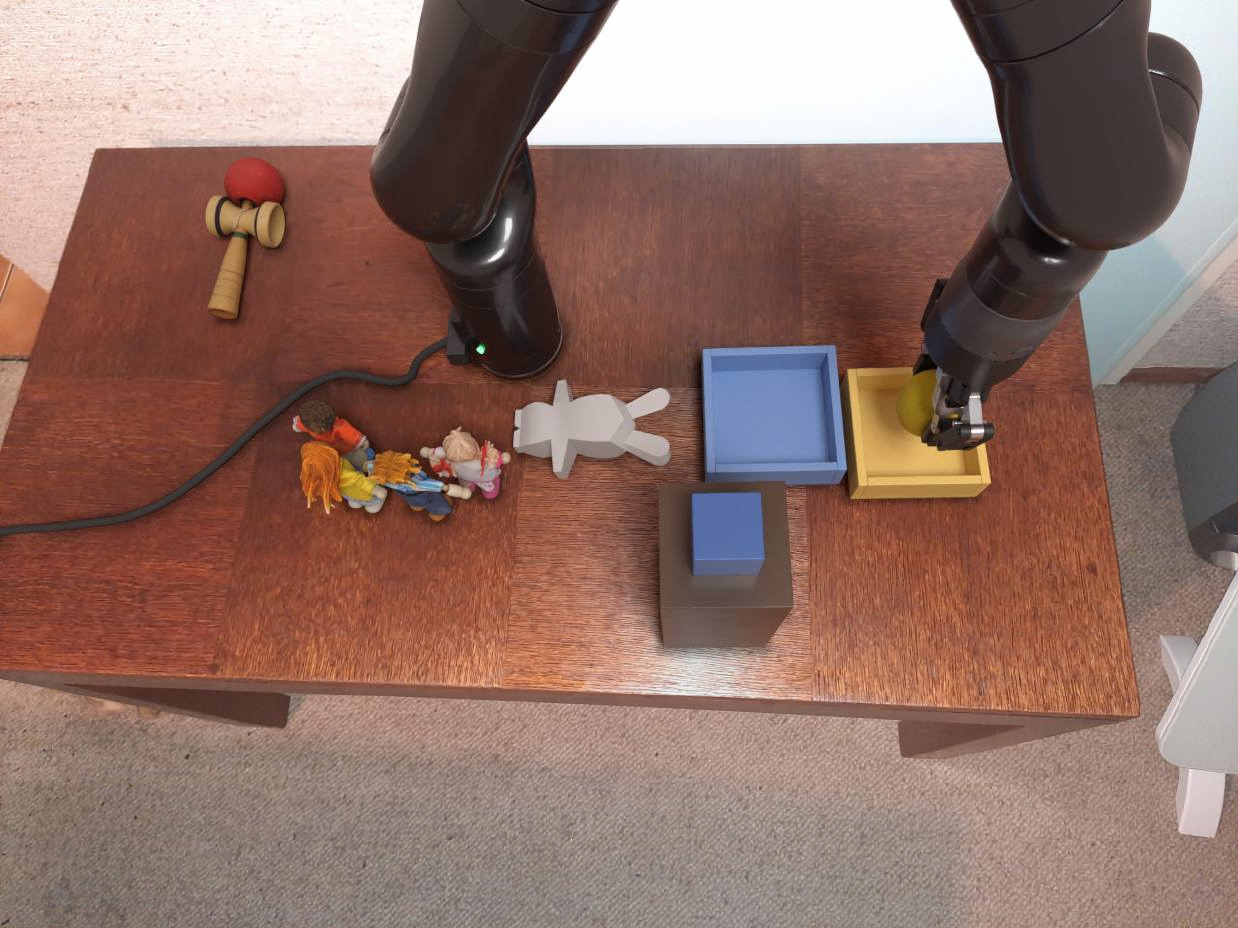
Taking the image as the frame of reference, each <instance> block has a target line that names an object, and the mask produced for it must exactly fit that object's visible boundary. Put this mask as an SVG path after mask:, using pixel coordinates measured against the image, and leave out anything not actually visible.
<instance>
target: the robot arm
mask: <svg viewBox="0 0 1238 928" xmlns="http://www.w3.org/2000/svg"><path fill="white" fill-rule="evenodd" d="M619 2H620V0H423V2H422V6H421V12H420V17H419V21H418V28H417V33H416V38H415V44H414V50H413V57H412V62H411V63H412V64H411V69H410V74H409V75H408V76H407V77H406V79H405V81H404V83H403V85H402V86H401V89H400V90H399V93H398V95H397V98H396V100H395V102H394V104H393V106H392V108H391V111H390V113H389V114H388V118H387V120H386V122H385V125H384V127H383V129H382V132H381V134H380V136H379V139H378V141H377V143H376V145H375V148H374V150H373V152H372V155H371V161H370V165H369V183H370V187H371V191H372V194H373V196H374V198H375V200H376V202H377V204H378V207H379V208H380V210H381V211H382V212H383V214H384V215H385V217H387V219H388V220H389V221H390V222H391V223H392V224H393V225H394V226H395V227H396V228H398V229H399V230H400V231H401V232H403V233H405V234H406V235H408V236H410V237H412V238H414V239H415V240H419V241H421V242H423V243H424V248H425V250H426V253H427V256H428V258H429V259H430V261H431V264H432V266H433V269H434V270H435V272H436V274H437V276H438V279H439V280H440V282H441V285H442V286H443V288H444V290H445V292H446V294H447V296H448V298H449V301H450V303H451V304H450V312H449V313H448V319H447V320H448V321H447V333H446V336H445V337H443V338H441V339H439V340H437V341H435V342H434V343H432V344H430V345H429V346H427V347H425V348H424V349H423V350H421V351H420V352H419V353H418V354H417V355H416V356H415V357H414V358H413V360H412V361H411V365H410V367H409V369H408V372H407V373H406V374H404V375H401V376H397V377H386V376H380V375H375V374H372V373H368V372H363V371H358V370H352V369H351V370H349V369H342V370H340V369H339V370H335V371H330V372H327V373H324V374H321V375H319V376H317V377H314V378H312V379H310V380H308V381H306V382H305V383H304V384H303V385H301V386H299V387H298V388H296V389H295V390H293V392H291V393H290V394H289V395H288V396H287V397H285V398H284V399H283V400H281V401H280V402H279V403H278V404H277V405H275V406H274V407H273V408H272V409H270V410H269V411H268V412H266V413H265V414H264V415H263V416H261V417H260V418H259V419H258V420H257V421H255V423H253V424H252V425H251V426H249V428H247V430H245V431H244V433H242V434H241V435H240V436H239V437H238V438H237V439H236V440H235V441H234V442H233V443H232V444H231V445H230V446H229V447H228V448H226V449H225V450H224V451H223V452H222V453H221V454H220V455H219V456H218V457H217V458H215V459H214V460H213V461H212V462H211V463H209V464H208V465H207V466H205V467H204V468H203V469H201V470H200V471H198V473H196V474H195V475H194V476H192V477H190V478H189V479H188V480H186V481H185V482H184V483H183V484H181V485H179V486H178V487H176V488H175V489H174V490H172V491H170V492H169V493H168V494H166V495H164V496H163V497H161V498H159V499H157V500H155V501H153V502H151V503H149V504H147V505H145V506H142V507H140V508H137V509H134V510H132V511H131V510H130V511H128V512H125V513H121V514H117V515H111V516H110V515H109V516H103V517H95V518H86V519H77V520H71V521H64V522H54V523H53V522H52V523H37V524H35V523H34V524H18V525H7V526H4V527H0V538H2V537H4V536H10V535H19V534H36V533H55V532H64V531H72V530H79V529H87V528H96V527H105V526H114V525H118V524H122V523H126V522H131V521H134V520H137V519H140V518H142V517H145V516H148V515H150V514H152V513H155V512H157V511H159V510H160V509H162V508H164V507H166V506H168V505H170V504H172V503H173V502H175V501H176V500H178V499H180V498H181V497H182V496H184V495H185V494H187V493H188V492H189V491H191V490H192V489H194V488H195V487H196V486H197V485H199V484H201V482H203V481H204V480H205V479H207V478H208V477H210V475H212V474H214V473H215V472H216V471H217V470H219V469H220V468H221V467H222V466H223V465H225V464H226V463H227V462H228V461H229V460H230V459H232V458H233V456H235V455H236V454H237V453H238V452H239V451H240V450H241V449H242V448H243V447H244V446H245V445H246V444H247V443H248V442H249V441H250V440H251V439H253V437H254V436H255V435H256V434H257V433H259V432H260V431H261V430H262V429H264V427H266V426H267V425H268V424H269V423H271V422H272V421H273V420H274V419H276V418H277V417H279V415H281V414H282V413H283V412H284V411H286V410H287V409H288V408H289V407H291V406H292V405H293V404H295V402H297V401H298V400H299V399H300V398H301V397H303V396H304V395H305V394H307V393H309V392H310V391H312V390H313V389H315V388H318V387H319V386H321V385H323V384H326V383H328V382H331V381H336V380H341V379H352V380H359V381H365V382H368V383H372V384H375V385H380V386H388V387H399V386H404V385H406V384H409V383H411V382H412V381H414V380H415V378H416V377H417V375H418V373H419V369H420V367H421V364H423V362H424V361H425V360H426V359H428V358H429V357H431V356H432V355H434V354H435V353H437V352H439V351H440V350H442V349H444V348H445V355H446V356H445V357H446V358H447V360H448V361H449V363H450V365H451V366H459V365H460V366H461V365H463V366H464V365H470V363H471V366H472V367H473V368H483V369H484V370H485V371H487V372H488V373H490V374H491V375H493V376H495V377H497V378H500V379H503V380H509V381H522V380H527V379H530V378H534V377H536V376H538V375H540V374H542V373H543V372H545V371H546V370H548V369H549V368H550V367H551V366H552V365H553V364H554V362H555V361H557V358H558V357H559V355H560V353H561V351H562V348H563V346H564V345H563V343H564V329H563V324H562V321H561V318H560V316H559V315H560V314H559V308H558V301H557V299H555V298H557V294H556V293H557V292H553V291H556V290H555V289H556V288H554V289H553V290H552V285H551V281H550V279H549V274H548V271H547V270H548V269H547V266H546V262H545V258H544V255H543V251H542V247H541V243H540V239H539V236H538V231H537V228H536V221H537V220H536V218H537V211H538V192H537V186H536V179H535V174H534V168H533V163H532V157H531V151H530V147H529V141H528V137H529V135H530V134H531V133H532V132H533V130H534V129H535V127H536V126H537V125H538V123H539V122H540V121H541V119H542V118H543V117H544V115H545V114H546V112H547V111H548V110H549V109H550V107H551V106H552V105H553V103H554V102H555V100H556V99H557V97H558V96H559V94H560V93H561V92H562V90H563V88H564V87H565V85H566V84H567V83H568V81H569V80H570V79H571V77H572V75H573V74H574V72H575V71H576V69H577V68H578V66H579V65H580V64H581V62H582V60H583V59H584V57H585V56H586V54H587V52H588V51H589V50H590V49H591V47H592V46H593V44H594V42H595V41H596V40H597V38H598V36H599V35H600V34H601V32H602V31H603V29H604V27H605V26H606V24H607V22H608V21H609V20H610V17H611V16H612V14H613V12H614V11H615V9H616V8H617V5H618V4H619ZM949 2H950V4H951V6H952V7H953V10H954V12H955V14H956V16H957V18H958V20H959V23H960V24H961V26H962V28H963V30H964V32H965V34H966V36H967V38H968V40H969V42H970V44H971V46H972V48H973V50H974V53H975V54H976V56H977V57H978V59H979V61H980V62H981V64H982V66H983V68H984V69H985V71H986V73H987V76H988V80H989V83H990V87H991V92H992V97H993V104H994V109H995V115H996V121H997V125H998V126H997V127H998V129H999V134H1000V138H1001V143H1002V147H1003V150H1004V154H1005V159H1006V163H1007V167H1008V171H1009V174H1010V179H1009V181H1008V184H1007V186H1006V188H1005V190H1004V191H1003V194H1002V196H1001V198H1000V199H999V201H998V203H997V205H996V206H995V208H994V209H993V211H992V212H991V213H990V215H989V216H988V217H987V219H986V221H985V222H984V224H983V226H982V228H981V230H980V231H979V233H978V235H977V236H976V238H975V240H974V242H973V244H972V246H971V247H970V249H968V252H966V253H965V255H964V256H963V257H962V258H961V259H960V261H959V262H958V263H957V265H956V266H955V268H954V270H953V272H952V273H951V275H950V277H937V278H936V280H935V283H934V285H933V289H932V291H931V292H930V293H931V294H930V296H929V299H928V301H927V304H926V307H925V309H924V311H923V315H922V317H921V320H920V323H919V327H920V330H921V332H923V338H924V339H922V341H921V344H920V351H921V352H920V354H919V356H918V357H917V360H916V361H915V364H914V366H912V367H913V369H912V371H913V376H914V375H916V374H918V373H920V372H922V371H925V370H930V369H937V371H936V379H937V383H936V386H935V390H934V394H933V397H932V401H931V402H932V405H933V408H934V411H935V412H934V416H933V419H932V420H931V421H930V422H929V423H928V425H927V426H926V427H925V429H924V430H923V432H922V433H921V434H920V435H921V442H922V443H925V444H927V447H934V446H936V447H937V450H938V451H946V450H963V451H970V450H972V449H974V448H976V447H977V446H979V445H981V444H983V443H985V444H986V443H987V442H989V441H991V440H992V439H994V436H995V433H996V429H995V426H994V424H993V422H987V420H986V419H983V410H982V407H983V406H982V405H984V404H985V403H986V402H987V401H988V399H989V397H990V395H991V394H990V393H991V391H992V389H993V388H994V386H997V385H998V384H1000V383H1002V382H1003V381H1006V380H1007V379H1009V378H1011V377H1012V376H1013V375H1015V374H1016V373H1017V372H1019V370H1020V369H1021V368H1022V367H1023V366H1024V365H1025V364H1026V363H1027V361H1028V360H1030V358H1031V357H1032V356H1033V355H1034V353H1035V352H1036V351H1037V350H1038V349H1039V347H1041V345H1042V344H1043V343H1044V342H1045V341H1046V339H1047V338H1048V337H1049V336H1050V334H1052V332H1053V331H1054V330H1055V328H1057V326H1058V325H1059V324H1060V322H1061V321H1062V319H1064V316H1065V315H1066V313H1067V311H1068V310H1069V307H1070V305H1071V304H1072V302H1074V300H1075V299H1076V298H1077V297H1078V295H1079V294H1080V293H1081V292H1082V291H1083V290H1084V289H1085V287H1086V286H1087V285H1088V284H1089V283H1090V281H1091V280H1092V279H1093V278H1094V277H1095V275H1096V274H1097V273H1098V271H1099V270H1100V269H1101V267H1102V265H1103V264H1104V262H1105V261H1106V258H1107V256H1108V254H1109V253H1110V251H1115V250H1120V249H1124V248H1125V249H1126V248H1128V247H1130V246H1133V245H1135V244H1138V243H1139V242H1142V241H1143V240H1145V239H1147V238H1148V237H1150V236H1151V235H1153V234H1154V233H1155V232H1156V231H1158V230H1159V229H1160V228H1161V227H1162V226H1163V225H1164V224H1166V222H1167V221H1168V220H1169V219H1170V217H1171V216H1172V214H1173V213H1174V212H1175V210H1176V208H1177V207H1178V205H1179V203H1180V201H1181V198H1182V196H1183V194H1184V191H1185V188H1186V184H1187V181H1188V176H1189V175H1188V174H1189V169H1190V164H1191V159H1192V155H1193V150H1194V149H1193V148H1194V143H1195V138H1196V133H1197V128H1198V123H1199V119H1200V113H1201V108H1202V102H1203V93H1204V91H1203V79H1202V73H1201V69H1200V68H1199V65H1198V62H1197V60H1196V59H1195V57H1194V55H1193V54H1192V52H1191V51H1190V50H1189V49H1188V48H1187V47H1186V46H1185V45H1184V44H1182V43H1181V42H1180V41H1178V40H1177V39H1174V38H1173V37H1170V36H1168V35H1166V34H1162V33H1159V32H1154V31H1149V29H1150V22H1151V14H1152V0H949ZM554 296H555V298H554ZM946 396H948V397H949V398H945V397H946ZM953 414H958V417H952V418H945V417H946V416H947V415H953Z"/></svg>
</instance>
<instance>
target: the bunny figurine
mask: <svg viewBox="0 0 1238 928" xmlns="http://www.w3.org/2000/svg"><path fill="white" fill-rule="evenodd" d="M671 398H672V395H671V393H670V391H669V390H668V389H665V388H663V387H658V388H654V389H652V390H651V391H649V392H646V393H645V394H643V395H642V396H639V397H638V398H636V399H634V400H632V401H630V402H629V403H626V402H624V401H622V400H621V399H619V398H617V397H616V396H614V395H613V394H608V393H607V394H606V393H605V394H604V393H597V394H589V395H585V396H580V397H578V398H575V399H574V395H573V393H572V389H571V387H570V385H569V383H568V381H567V379H561V380H557V383H556V386H555V392H554V396H553V402H552V405H551V404H548V403H546V402H543V401H534V402H532V403H528V404H526V405H525V406H524V407H523V408H522V409H515V413H514V414H515V415H514V426H515V428H516V430H514V432H513V444H512V445H513V446H512V447H513V449H514V450H515V452H517V454H519V453H520V454H521V453H524V454H527V455H530V456H533V457H537V458H542V459H545V458H549V457H550V458H551V460H552V471H553V472H552V473H554V475H555V476H556V477H557V478H558V479H563V480H567V479H568V477H569V475H570V473H571V470H572V467H573V465H574V462H575V460H576V458H577V455H578V454H579V455H581V456H584V457H587V458H593V459H614V458H618V457H620V456H621V455H623V454H625V453H626V452H628V453H630V454H632V455H634V456H636V457H638V458H640V459H642V460H644V461H646V462H648V463H649V464H651V465H653V466H659V467H664V465H666V464H669V462H670V460H671V457H672V453H671V447H670V443H669V441H668V439H666V438H665V437H663V436H662V435H656V434H653V433H648V432H643V431H640V430H636V426H637V424H636V420H635V419H637V418H640V417H643V416H646V415H650V414H652V413H656V412H658V411H662V410H663V409H665V408H666V407H667V406H668V405H669V404H670V402H671V400H672V399H671Z"/></svg>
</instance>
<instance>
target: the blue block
mask: <svg viewBox="0 0 1238 928" xmlns="http://www.w3.org/2000/svg"><path fill="white" fill-rule="evenodd" d="M691 542H692V574H693V575H757V574H758V573H759V571H760V569H761V566H762V564H763V562H764V559H765V555H764V537H763V520H762V502H761V493H760V492H748V493H693V494H692V500H691Z"/></svg>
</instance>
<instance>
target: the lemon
mask: <svg viewBox="0 0 1238 928" xmlns="http://www.w3.org/2000/svg"><path fill="white" fill-rule="evenodd" d="M936 371H937V369H930V370H925V371H922V372H920V373H918V374H916V375H914V376H913V377H912V378H910V379H909V380H908V381H907V382H906V383H905V384H904V386H903V387H902V389H901V390H900V392H899V394H898V398H897V401H896V413H897V417H898V420H899V421H900V423H901V425H902V426H903V427H904V428H905V429H906V430H907V431H908V432H910V433H911V434H913V435H916V436H918V437H921V435H920V434H921V433H922V432H923V430H924V429H925V427H926V426H927V425H928V423H929V422H930V421H931V420H932V419H933V416H934V412H935V411H934V408H933V405H932V402H931V401H932V397H933V394H934V390H935V386H936V383H937V379H936ZM945 398H949V397H948V396H946V397H945ZM952 417H958V414H953V415H947V416H946V417H945V418H952Z"/></svg>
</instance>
